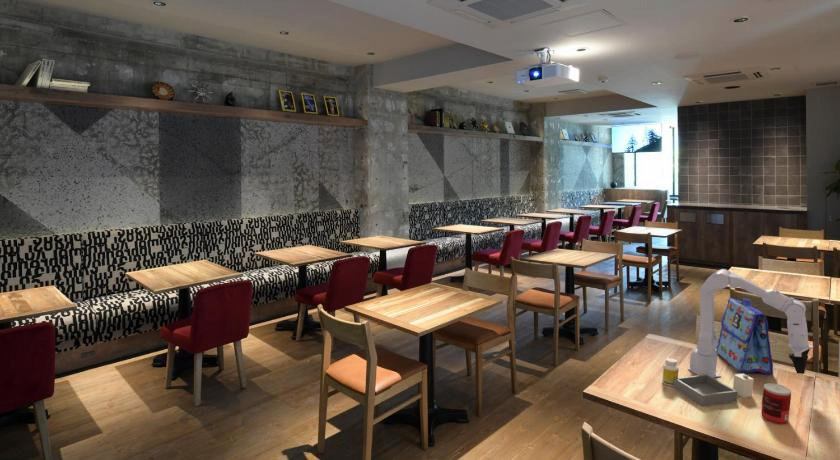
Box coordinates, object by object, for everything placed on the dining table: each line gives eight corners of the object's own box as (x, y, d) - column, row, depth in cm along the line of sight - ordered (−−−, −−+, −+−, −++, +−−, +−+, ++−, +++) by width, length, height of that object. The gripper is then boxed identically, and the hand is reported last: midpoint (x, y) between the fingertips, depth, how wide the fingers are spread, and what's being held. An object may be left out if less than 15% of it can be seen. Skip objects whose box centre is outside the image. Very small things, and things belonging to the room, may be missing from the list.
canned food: (783, 414, 168) (786, 384, 167) (792, 426, 161) (795, 395, 159) (757, 411, 171) (760, 381, 169) (765, 422, 163) (768, 392, 162)
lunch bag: (715, 353, 221) (719, 292, 217) (747, 354, 219) (752, 292, 215) (739, 374, 200) (744, 306, 196) (775, 375, 198) (781, 307, 194)
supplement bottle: (679, 387, 189) (680, 363, 188) (664, 386, 190) (665, 362, 189) (675, 380, 195) (676, 357, 193) (660, 379, 196) (661, 356, 194)
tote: (673, 387, 189) (674, 378, 188) (705, 383, 192) (706, 374, 191) (702, 406, 175) (703, 395, 174) (736, 401, 177) (737, 391, 177)
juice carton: (732, 392, 185) (734, 372, 184) (741, 390, 186) (743, 371, 184) (743, 397, 180) (744, 377, 179) (752, 396, 181) (753, 376, 180)
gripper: (810, 340, 170) (814, 378, 171) (812, 329, 181) (816, 364, 182) (785, 338, 175) (789, 375, 176) (789, 327, 186) (792, 362, 186)
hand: (801, 369), depth 179 cm, fingers open, 7 cm apart
